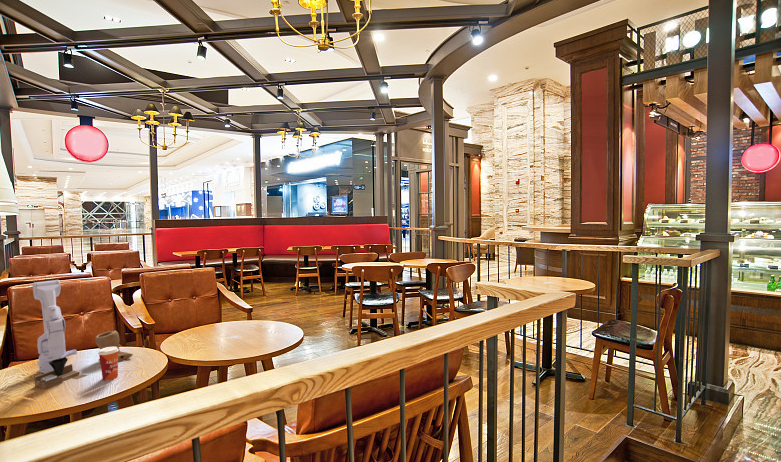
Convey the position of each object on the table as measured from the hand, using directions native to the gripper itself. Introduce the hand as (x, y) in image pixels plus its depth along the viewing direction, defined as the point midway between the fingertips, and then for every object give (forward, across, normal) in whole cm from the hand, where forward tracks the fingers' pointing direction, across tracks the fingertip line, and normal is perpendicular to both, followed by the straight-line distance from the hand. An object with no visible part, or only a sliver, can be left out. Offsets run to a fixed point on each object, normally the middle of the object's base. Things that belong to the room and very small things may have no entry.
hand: (59, 375), depth 176 cm
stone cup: (+3, +25, +2) cm, 26 cm away
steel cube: (+1, -2, -1) cm, 3 cm away
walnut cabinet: (+3, 0, -2) cm, 4 cm away
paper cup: (+3, +9, -20) cm, 22 cm away
